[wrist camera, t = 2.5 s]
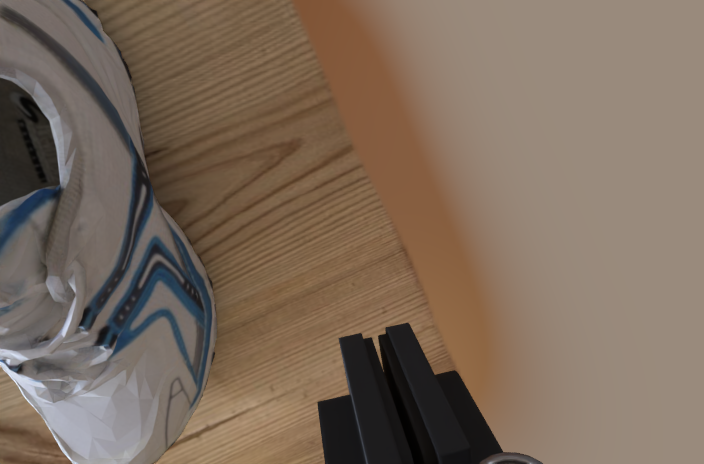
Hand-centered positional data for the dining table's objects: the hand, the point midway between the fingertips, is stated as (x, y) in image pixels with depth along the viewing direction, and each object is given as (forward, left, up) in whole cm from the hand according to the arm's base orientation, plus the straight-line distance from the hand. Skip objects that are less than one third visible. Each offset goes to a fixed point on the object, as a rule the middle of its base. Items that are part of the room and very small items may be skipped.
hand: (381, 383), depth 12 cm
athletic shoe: (+12, 0, -16) cm, 20 cm away
